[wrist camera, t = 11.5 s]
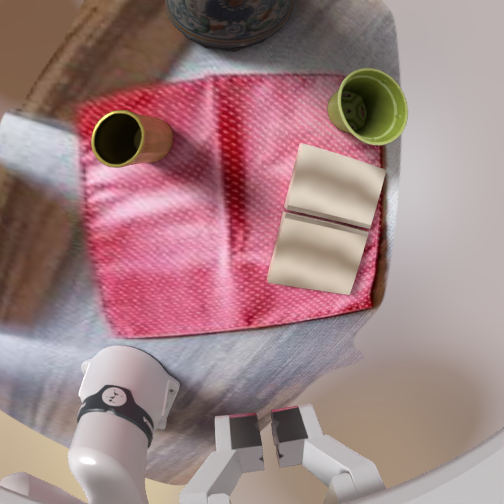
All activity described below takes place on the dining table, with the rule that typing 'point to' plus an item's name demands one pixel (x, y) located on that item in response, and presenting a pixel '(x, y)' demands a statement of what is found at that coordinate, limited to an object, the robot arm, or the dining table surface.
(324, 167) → the board
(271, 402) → the dining table surface
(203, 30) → the beer stein
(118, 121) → the vase
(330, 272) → the loose plank
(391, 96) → the plant pot
